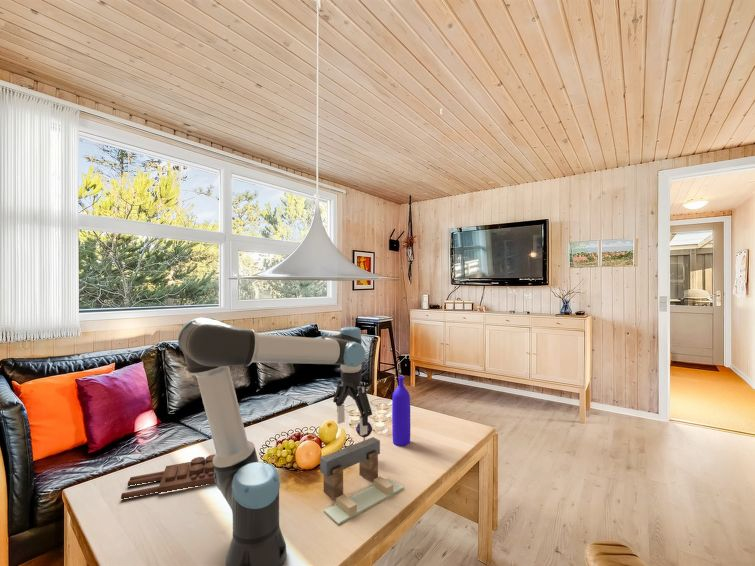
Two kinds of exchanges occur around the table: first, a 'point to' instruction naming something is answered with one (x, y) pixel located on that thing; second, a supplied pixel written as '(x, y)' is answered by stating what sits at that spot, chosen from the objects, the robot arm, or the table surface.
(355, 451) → the rail
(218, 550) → the table surface
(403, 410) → the bottle
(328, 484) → the rack
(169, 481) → the miniature factory model
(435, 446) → the table surface
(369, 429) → the lollipop
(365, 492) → the board
